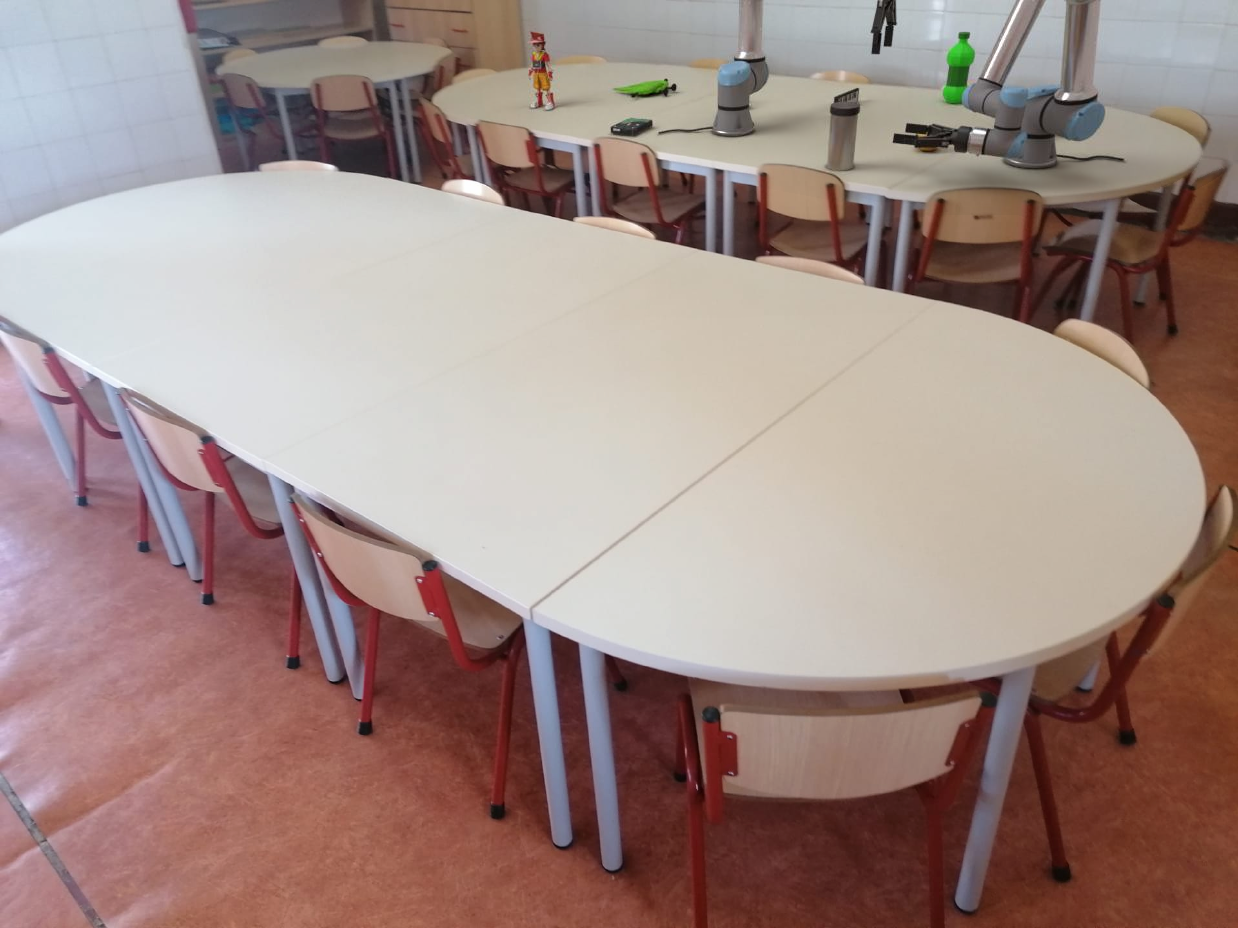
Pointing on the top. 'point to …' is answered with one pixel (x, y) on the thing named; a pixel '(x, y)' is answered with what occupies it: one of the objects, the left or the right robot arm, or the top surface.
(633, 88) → the toy
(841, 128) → the jar
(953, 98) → the plastic bottle
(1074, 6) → the right robot arm
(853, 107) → the lid
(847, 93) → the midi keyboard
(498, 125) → the top surface
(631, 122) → the disk drive
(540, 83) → the toy
